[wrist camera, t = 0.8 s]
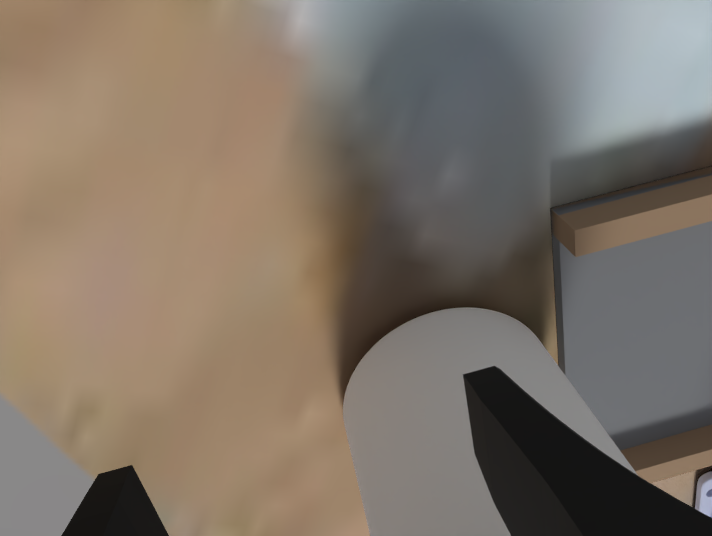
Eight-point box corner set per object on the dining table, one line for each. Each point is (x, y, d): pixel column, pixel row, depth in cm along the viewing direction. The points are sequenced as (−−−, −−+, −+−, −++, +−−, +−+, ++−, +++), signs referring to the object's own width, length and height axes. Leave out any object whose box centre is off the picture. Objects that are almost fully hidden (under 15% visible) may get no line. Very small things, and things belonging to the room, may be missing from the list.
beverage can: (400, 268, 23) (547, 569, 12) (580, 333, 26) (823, 623, 15) (305, 440, 26) (361, 799, 15) (476, 481, 29) (621, 808, 18)
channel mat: (808, 401, 30) (840, 428, 28) (564, 470, 29) (583, 502, 28) (863, 126, 23) (909, 142, 22) (550, 208, 23) (574, 230, 21)
